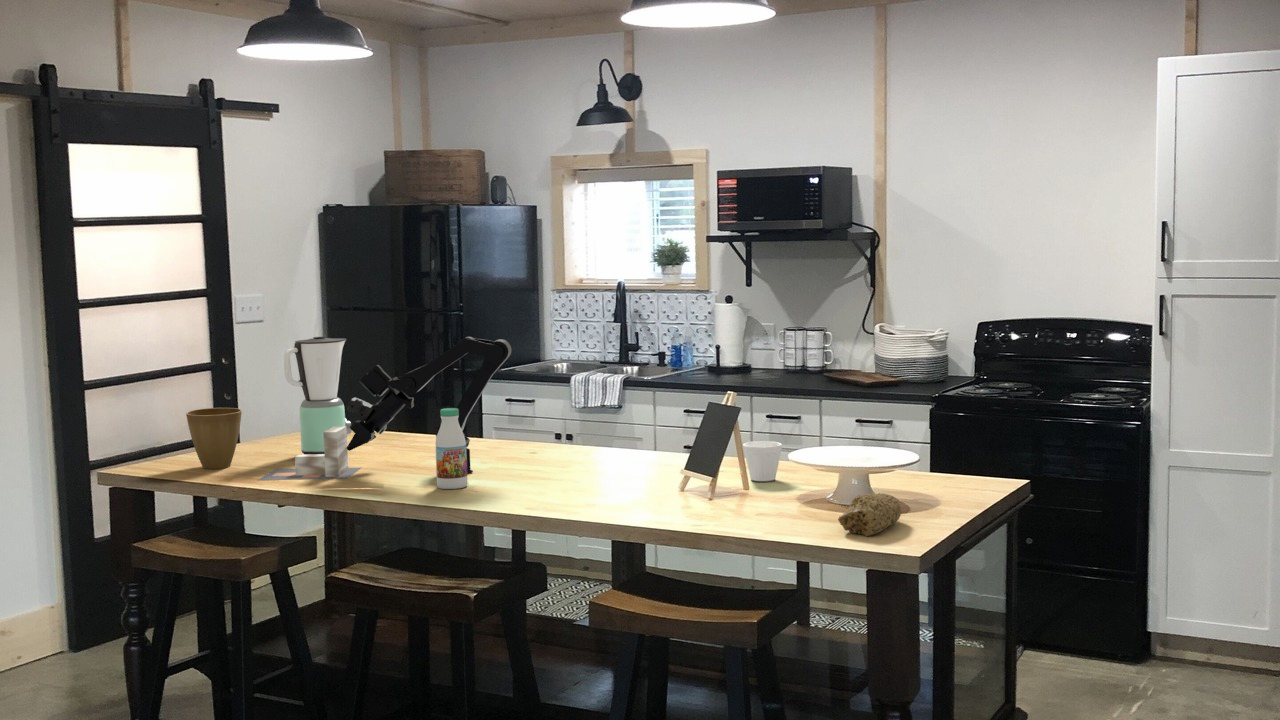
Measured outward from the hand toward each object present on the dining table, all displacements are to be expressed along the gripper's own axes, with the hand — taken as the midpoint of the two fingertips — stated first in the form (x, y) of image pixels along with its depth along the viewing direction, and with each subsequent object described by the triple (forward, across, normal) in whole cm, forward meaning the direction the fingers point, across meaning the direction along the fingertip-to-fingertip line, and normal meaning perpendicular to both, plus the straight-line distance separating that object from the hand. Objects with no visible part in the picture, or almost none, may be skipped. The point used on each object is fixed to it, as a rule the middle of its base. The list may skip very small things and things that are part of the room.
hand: (347, 449), depth 341 cm
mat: (+12, 0, -2) cm, 13 cm away
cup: (-74, +18, +82) cm, 112 cm away
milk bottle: (-18, +20, +27) cm, 38 cm away
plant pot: (+35, -15, -24) cm, 45 cm away
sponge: (-88, +70, +96) cm, 148 cm away
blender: (+17, -31, -6) cm, 36 cm away
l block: (+10, 0, -1) cm, 10 cm away
